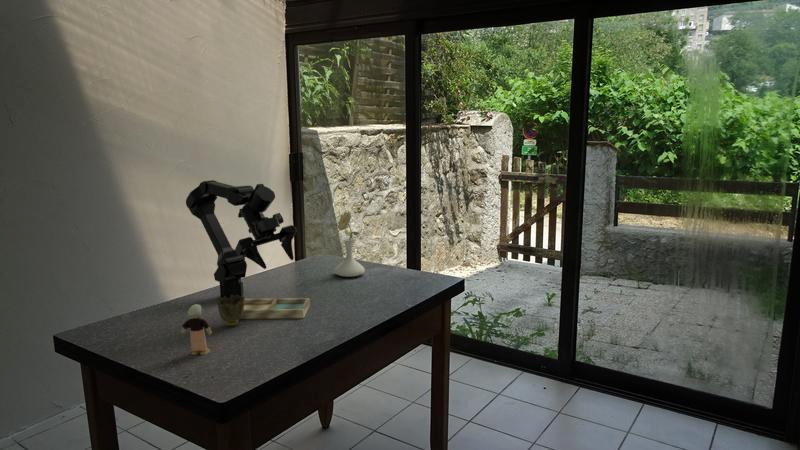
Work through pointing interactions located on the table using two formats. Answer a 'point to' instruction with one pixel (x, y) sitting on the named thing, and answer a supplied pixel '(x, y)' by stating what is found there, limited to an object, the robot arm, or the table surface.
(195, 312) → the grandmother figurine
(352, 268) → the flower in vase
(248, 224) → the robot arm
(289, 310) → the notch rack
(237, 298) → the cup
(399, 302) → the table surface
